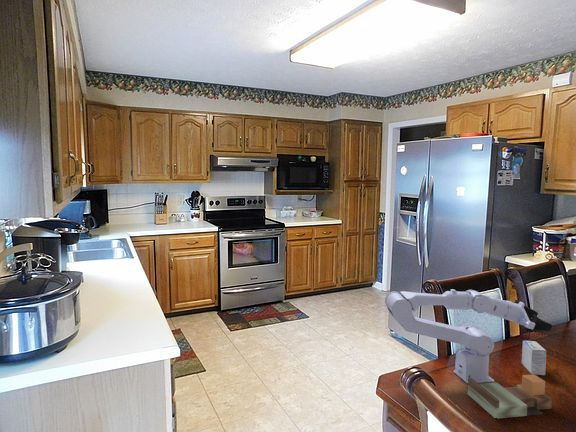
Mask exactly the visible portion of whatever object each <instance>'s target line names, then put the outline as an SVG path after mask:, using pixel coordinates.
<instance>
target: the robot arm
mask: <svg viewBox="0 0 576 432" xmlns="http://www.w3.org/2000/svg"><path fill="white" fill-rule="evenodd" d="M384 303H385V306H386V308H387V311H388V312H389V314H391V316H392V318H394V320H395V321H396V322H397V323H398V324H399V325H400V327H402V328H403V330H404V331H405V332H408V333H412V334H417V335H420V336H425V337H429V338H432V339H433V338H434V339H437V340H441V341H445V342H450V343H455V344H459V345H461V346H463V347H464V348H463V349H462V350H459V351H457V352H456V354H455V361H454V362H455V364H454V370H453V373H454V374H456V375H457V376H458V377H459V378H460V379H461V380H463V381H464V382H465V383H466V384H468V378H472V379H473V380H475V381H476V382H477V383H478V384H481V383H494V382H495V379H493V378H492V377H490V376H489V364H490V354H491V353H492V352H493V351H494V348H495V342H494V340H493V339H492V338H491V337H490V336H489V335H486V334H485V333H484V332H483V331H482V330H480V329H479V327H477V326H476V325H469V326H463V325H460V326H455V325H451V324H446V323H442V322H437V321H433V320H430V319H425V318H421V317H417V316H414V314H413V312H416V310H418V308H419V307H420V306H444V307H445V308H446V309H447V310H459V311H460V310H461V311H463V310H464V311H465V310H466V311H468V310H473V311H474V312H476V313H477V314H484V313H486V314H488V315H491V316H493V317H496V318H500V319H503V320H507V321H510V322H513V323H515V324H517V325H521V326H524V330H525V331H526V332H529V333H533V332H539V331H540V332H541V331H542V332H551V329H552V328H553V325H552V324H551V323H550V322H547V321H545V320H543V319H541V318H539V317H538V314H539V313H538V311H536V310H534V309H532V308H530V307H529V306H527V305H525V303H524V302H522V301H520V300H519V299H515V300H514V302H512V301H511V300H503V299H501V298H498V297H495V296H489V295H487V294H486V295H485V294H482V293H481V292H479V291H477V290H473V289H468V290H465V291H457V290H456V289H453V288H452V289H451V288H450V290H446V291H445V292H443V293H442V294H438V293H426V292H414V291H405V290H403V291H402V290H401V291H391V292H388V293H387V294H386V296H385V299H384Z"/></svg>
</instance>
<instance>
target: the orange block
mask: <svg viewBox="0 0 576 432" xmlns="http://www.w3.org/2000/svg"><path fill="white" fill-rule="evenodd" d="M521 384H522V385H521V388H522V389H523V390H525V391H526V392H527V393H529V394H530V395H532V396H535V395H544V394H546V380H545V379H542V378H540V377H539V375H535V374H522V375H521Z"/></svg>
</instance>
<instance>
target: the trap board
mask: <svg viewBox="0 0 576 432" xmlns="http://www.w3.org/2000/svg"><path fill="white" fill-rule="evenodd" d="M521 385H522V383H519V384H516V385H515V386H509V387H508V386H507V387H506V386H505V387H504V386H502V385H501V384H500V383H498V382H495V381H494V382H485V383H477V382H476V381H475V380H473V379H472V378H468V383H467V395H468V396H469V397H470V398H471V399H472V400H473V401H475V403H477V404H478V405H479V406H480V407H481V408H483V409H484V411H486V412H487V413H488V414H489V415H491V416H492V418H494V419H495V418H497V419H505V418H517V417H525V416H526V417H527V416H537V415H544V413H543V412H542V411H541V410H551V409H552V403H553V398H552V397H550V396H549V395H547V394H546V393H545V394H544V395H535V396H532V395H530V394H529V393H527V392H526V391H525V390H523V389H522V388H521Z"/></svg>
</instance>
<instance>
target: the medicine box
mask: <svg viewBox="0 0 576 432" xmlns="http://www.w3.org/2000/svg"><path fill="white" fill-rule="evenodd" d="M521 345H522V348H521V365H523V367H524V368H525V369H526V370H527V371H528V372H529V373H530V375H532V374H534V375H536V376H546V365H547V350H546V349H545V348H544V347H543V346H541V345H540V344H539V343H538V342H537V341H533V340H522V344H521Z"/></svg>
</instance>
